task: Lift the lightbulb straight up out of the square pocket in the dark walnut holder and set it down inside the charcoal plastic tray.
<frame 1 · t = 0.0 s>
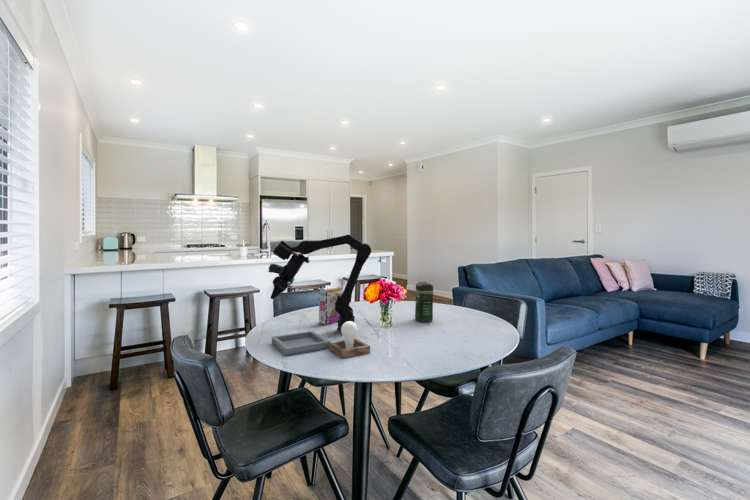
hand: (273, 296, 163), 15 cm above the table, tool tilted 35°, fingers open, 9 cm apart
coffee jar: (423, 320, 185), on the table
lightbulb: (349, 351, 138), resting in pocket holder
tray: (300, 345, 144), on the table
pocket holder: (349, 351, 138), on the table
candy bar box: (330, 322, 179), on the table
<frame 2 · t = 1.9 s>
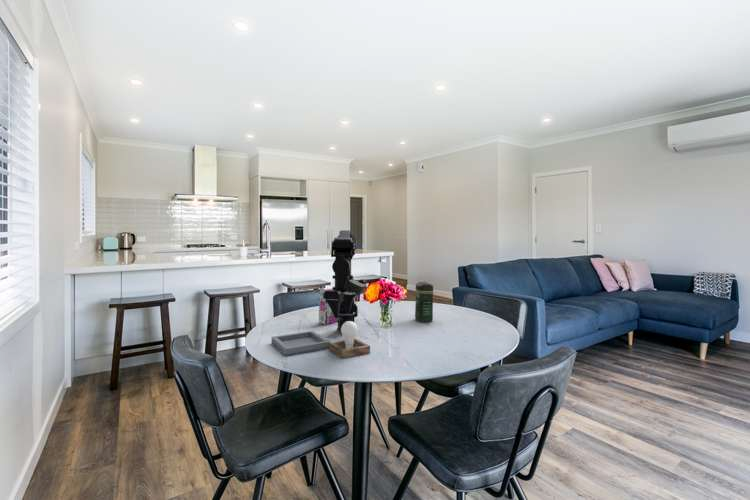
hand: (342, 315, 137), 13 cm above the table, tool pointing down, fingers open, 9 cm apart
nothing on the table moved.
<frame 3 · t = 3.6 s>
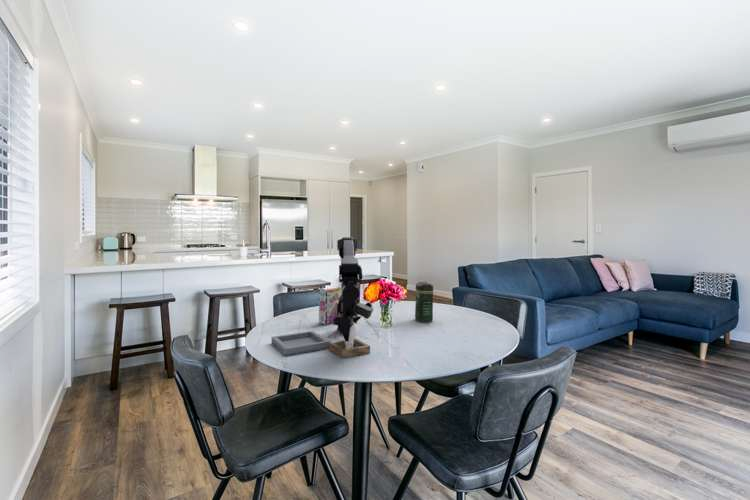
hand: (349, 338, 138), 5 cm above the table, tool pointing down, fingers closed on lightbulb, 6 cm apart
lightbulb: (349, 351, 138), resting in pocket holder, touching gripper
everything else where it was.
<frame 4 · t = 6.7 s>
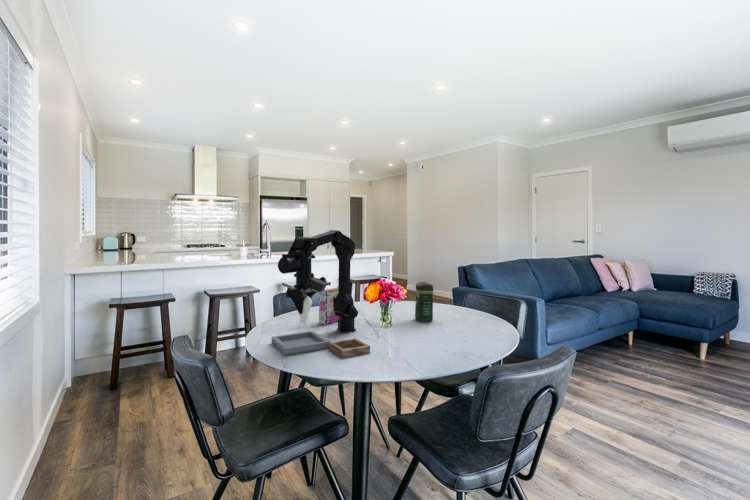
hand: (303, 312, 143), 13 cm above the table, tool pointing down, fingers closed on lightbulb, 5 cm apart
lightbulb: (303, 324, 143), point 8 cm above the table, touching gripper
everything else where it was.
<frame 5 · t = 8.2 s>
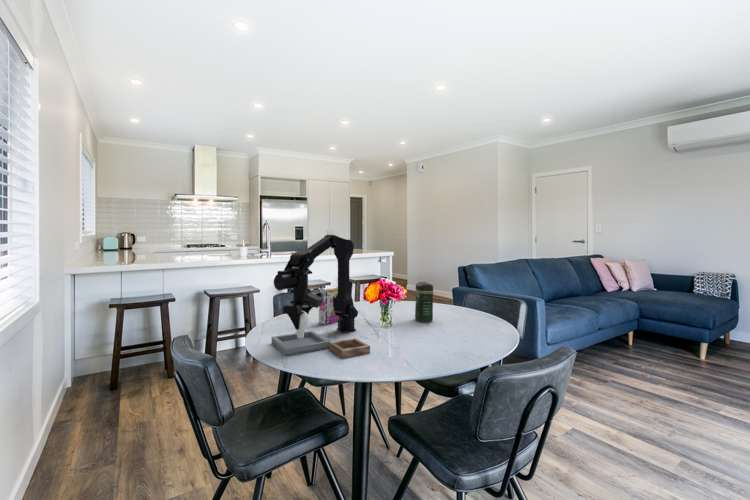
hand: (300, 327, 144), 7 cm above the table, tool pointing down, fingers closed on lightbulb, 5 cm apart
lightbulb: (300, 339, 144), point 2 cm above the table, touching gripper
everything else where it was.
when the fingers open (6 cm above the table, at t = 9.4 s): lightbulb stays where it is, resting on tray.
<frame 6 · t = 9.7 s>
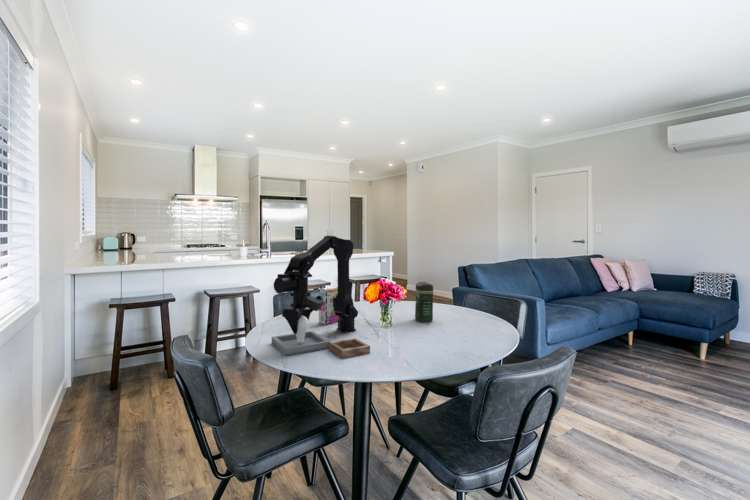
hand: (300, 330, 144), 6 cm above the table, tool pointing down, fingers open, 9 cm apart
lightbulb: (300, 344, 144), resting on tray
everything else where it was.
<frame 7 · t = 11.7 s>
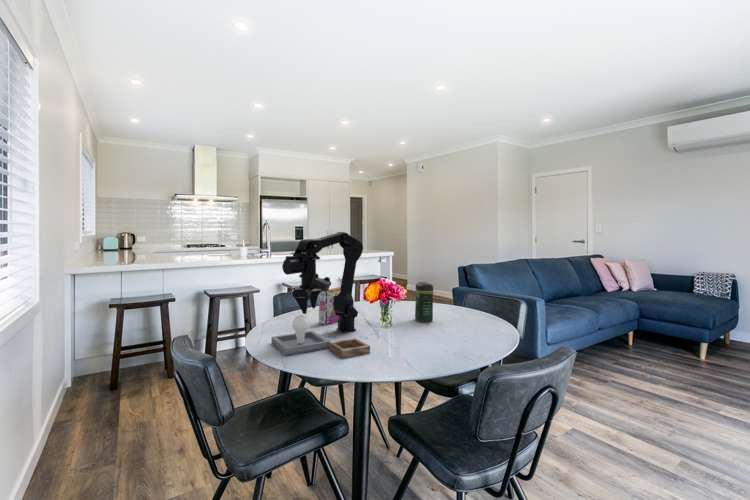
hand: (309, 310, 149), 12 cm above the table, tool pointing down, fingers open, 9 cm apart
nothing on the table moved.
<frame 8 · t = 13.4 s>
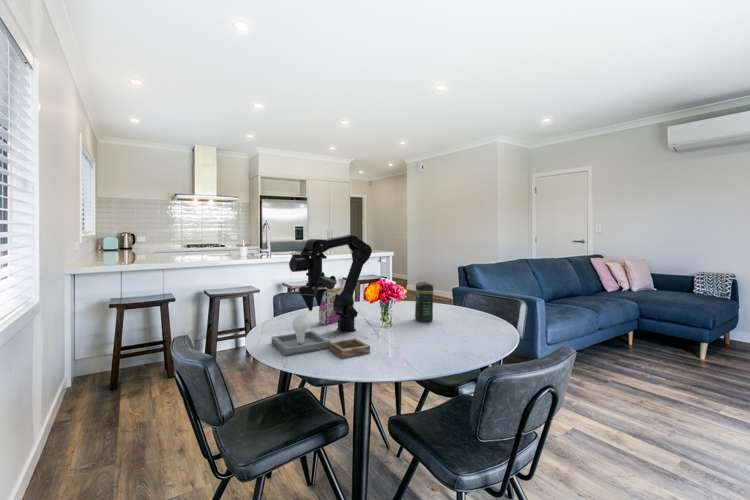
hand: (315, 308, 154), 12 cm above the table, tool pointing down, fingers open, 9 cm apart
nothing on the table moved.
at the end: lightbulb inside the target area on the tray (0.1 cm from its centre), point 0.4 cm above the tray's base; lightbulb touching tray; the gripper is holding nothing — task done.
